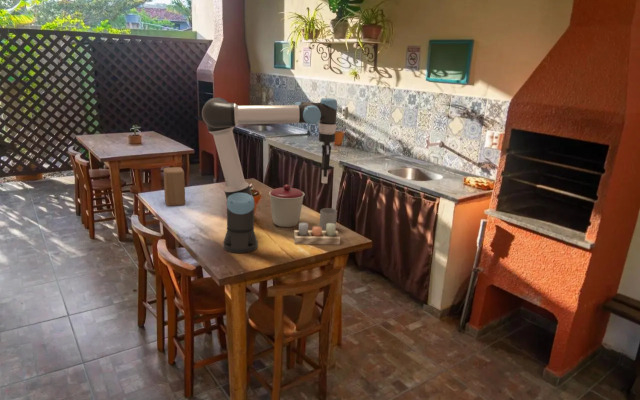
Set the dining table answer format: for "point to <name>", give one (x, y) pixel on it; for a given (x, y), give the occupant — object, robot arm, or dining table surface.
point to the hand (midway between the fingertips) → (324, 182)
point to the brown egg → (317, 231)
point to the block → (174, 186)
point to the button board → (316, 238)
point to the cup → (327, 217)
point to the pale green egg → (330, 229)
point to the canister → (286, 205)
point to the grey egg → (303, 229)
